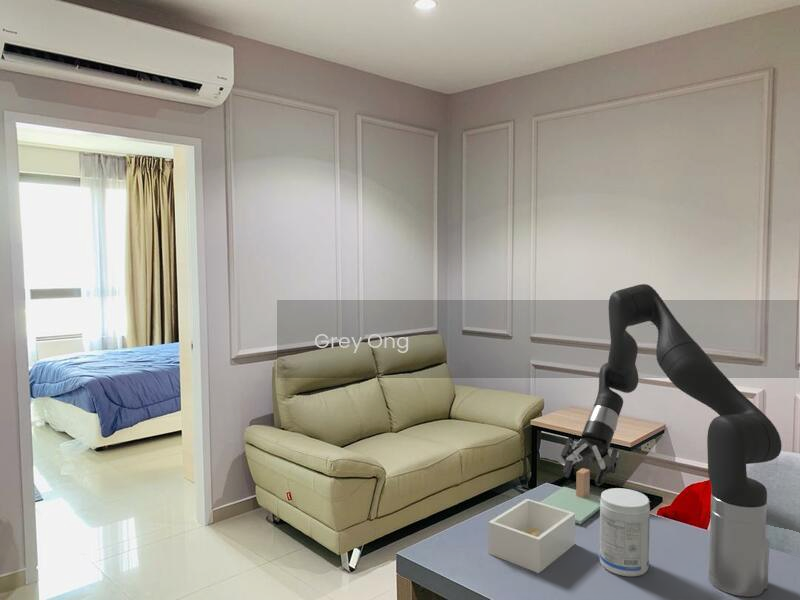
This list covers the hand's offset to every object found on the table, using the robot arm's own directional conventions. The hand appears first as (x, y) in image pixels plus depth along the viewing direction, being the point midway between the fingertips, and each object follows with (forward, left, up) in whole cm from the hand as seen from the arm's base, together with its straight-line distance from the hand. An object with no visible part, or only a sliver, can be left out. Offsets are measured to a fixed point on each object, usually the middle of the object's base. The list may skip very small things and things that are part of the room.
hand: (581, 480), depth 154 cm
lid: (+5, +3, -6) cm, 8 cm away
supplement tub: (+8, +31, -6) cm, 33 cm away
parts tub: (+23, +20, -5) cm, 31 cm away
